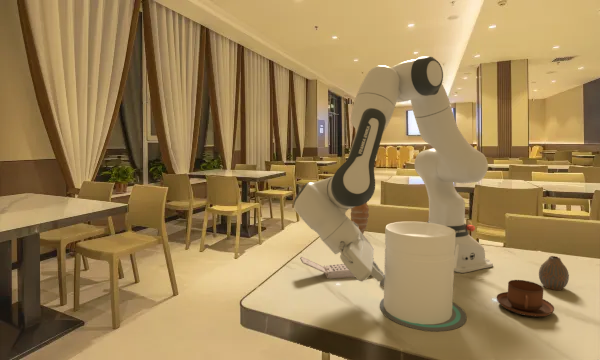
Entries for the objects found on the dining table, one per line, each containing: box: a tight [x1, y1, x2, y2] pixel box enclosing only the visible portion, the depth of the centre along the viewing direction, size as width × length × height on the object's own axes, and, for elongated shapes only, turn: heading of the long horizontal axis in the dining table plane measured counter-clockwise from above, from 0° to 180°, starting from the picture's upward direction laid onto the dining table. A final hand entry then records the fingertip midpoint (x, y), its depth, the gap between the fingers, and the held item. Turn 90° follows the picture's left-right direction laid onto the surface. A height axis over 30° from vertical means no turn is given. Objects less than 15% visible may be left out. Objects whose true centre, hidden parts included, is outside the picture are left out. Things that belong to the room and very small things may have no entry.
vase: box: [538, 255, 570, 291], centre depth 100 cm, size 7×7×9 cm
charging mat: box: [379, 275, 467, 332], centre depth 91 cm, size 20×28×2 cm
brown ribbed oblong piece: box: [350, 202, 370, 235], centre depth 156 cm, size 9×8×18 cm
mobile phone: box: [300, 256, 356, 279], centre depth 111 cm, size 6×6×25 cm
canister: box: [383, 221, 456, 324], centre depth 86 cm, size 16×16×20 cm
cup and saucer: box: [496, 279, 555, 318], centre depth 87 cm, size 12×12×6 cm
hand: (381, 278), depth 88 cm, fingers closed, pressing on canister
